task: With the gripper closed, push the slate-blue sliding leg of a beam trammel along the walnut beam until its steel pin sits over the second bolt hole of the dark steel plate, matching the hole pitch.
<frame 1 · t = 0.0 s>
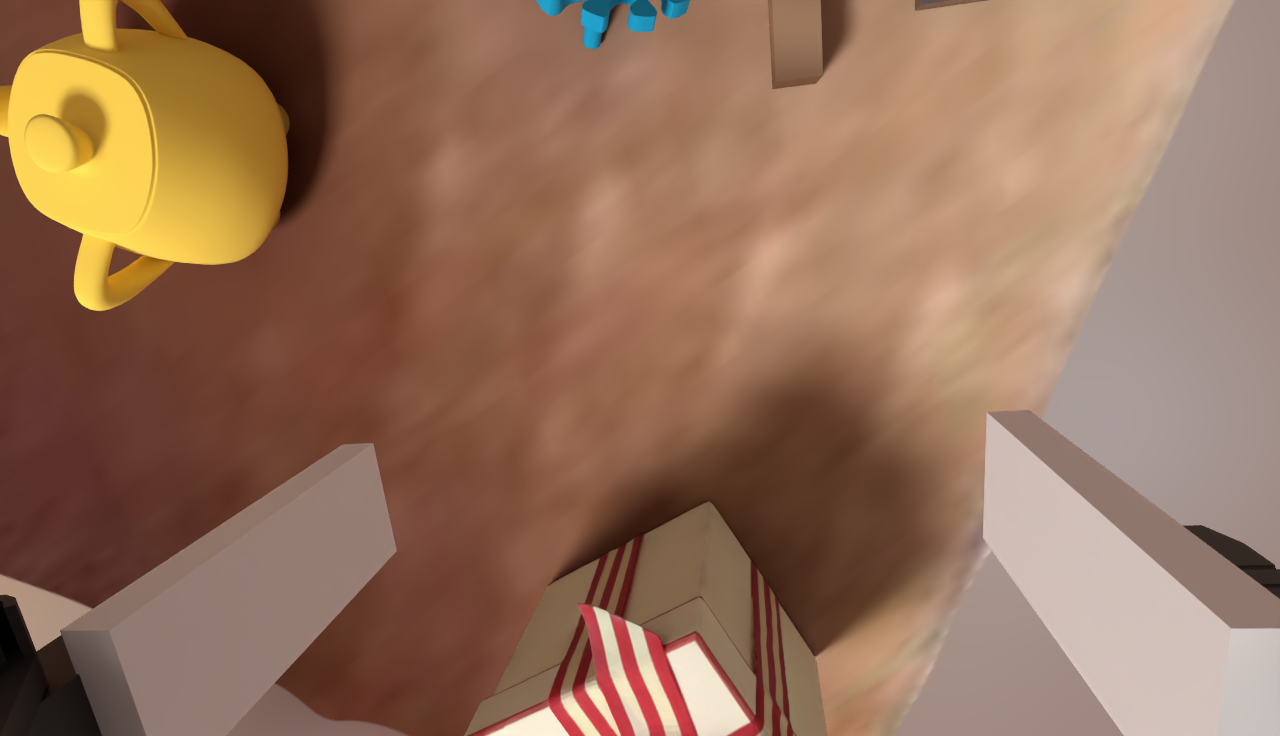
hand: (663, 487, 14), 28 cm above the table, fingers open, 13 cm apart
teapot: (201, 147, 43), on the table
gift box: (659, 608, 48), on the table
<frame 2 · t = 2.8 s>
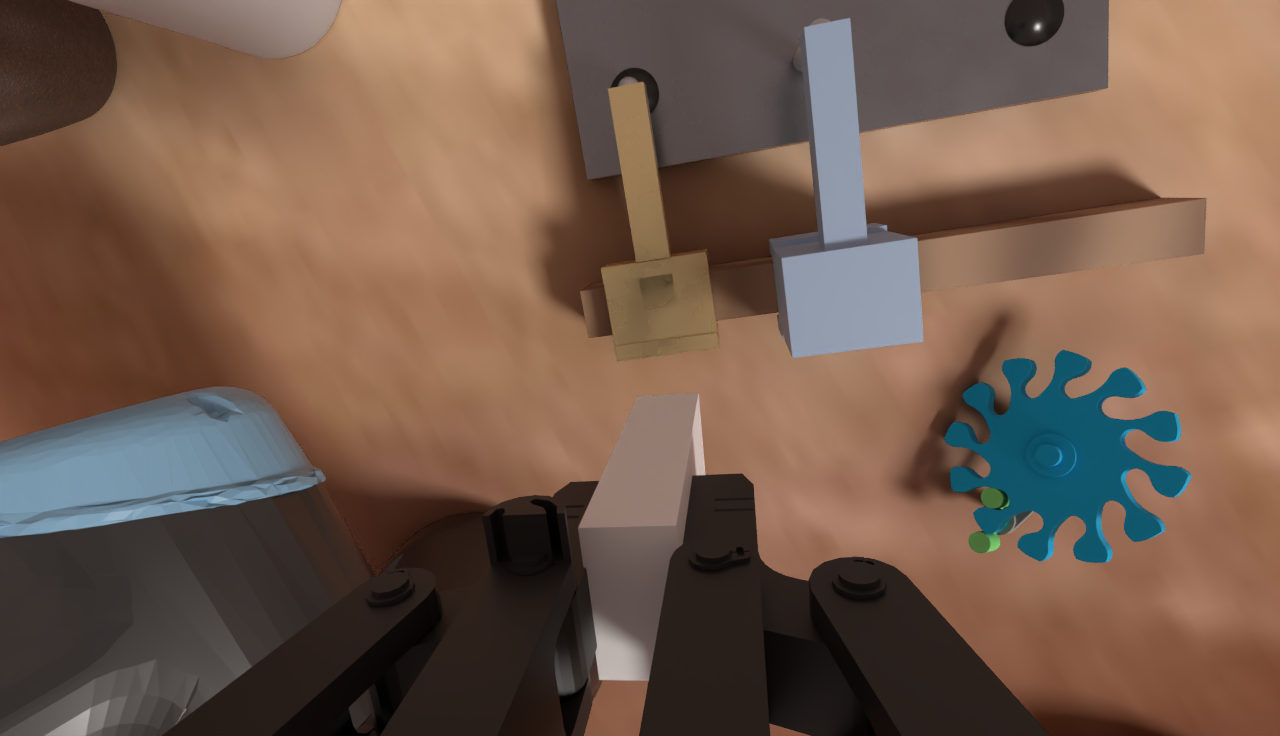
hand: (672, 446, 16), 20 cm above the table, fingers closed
hole plate: (817, 17, 31), on the table
fixed leg: (667, 294, 35), resting on beam
sliding leg: (828, 191, 28), point 5 cm above the table, slide at 0.0 cm
beam: (859, 266, 34), on the table
plant pot: (62, 52, 36), on the table
gear: (1012, 435, 35), on the table
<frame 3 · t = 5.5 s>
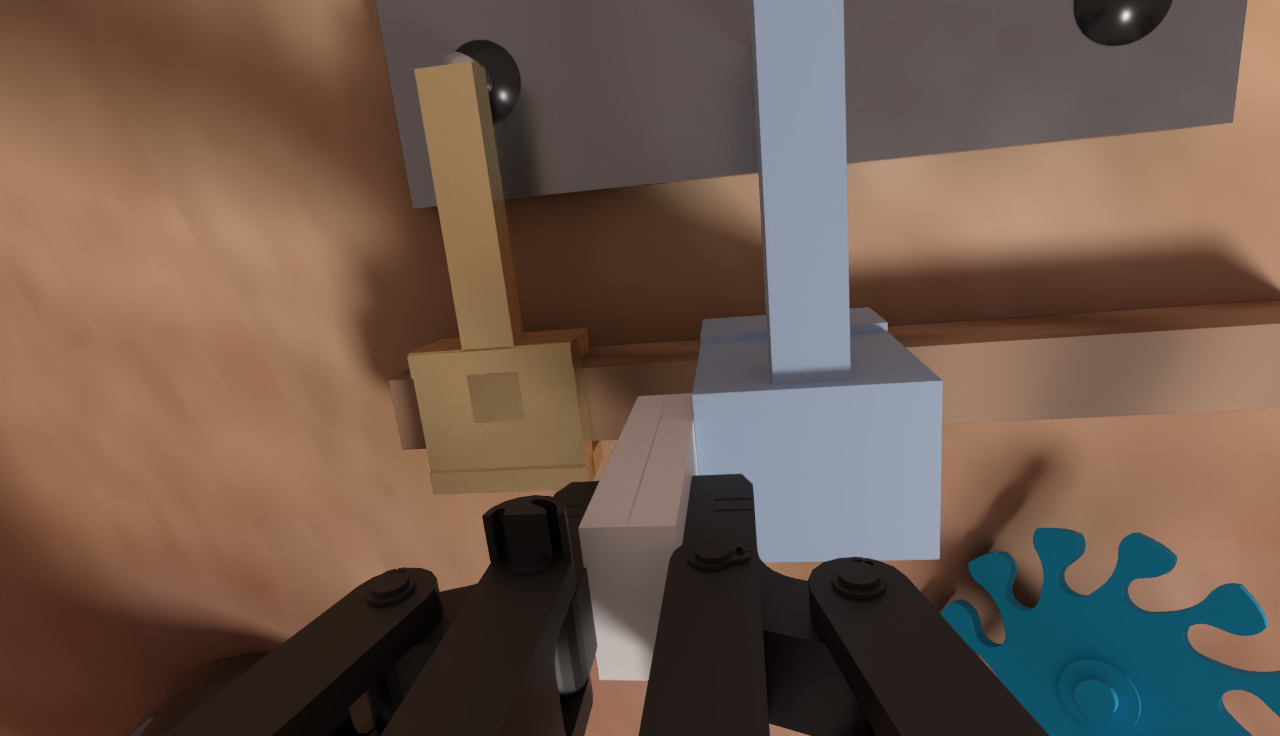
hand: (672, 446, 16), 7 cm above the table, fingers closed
fixed leg: (538, 382, 24), resting on beam
sliding leg: (792, 264, 16), point 5 cm above the table, slide at 0.7 cm, touching gripper
beam: (820, 365, 22), on the table
gear: (1033, 622, 24), on the table
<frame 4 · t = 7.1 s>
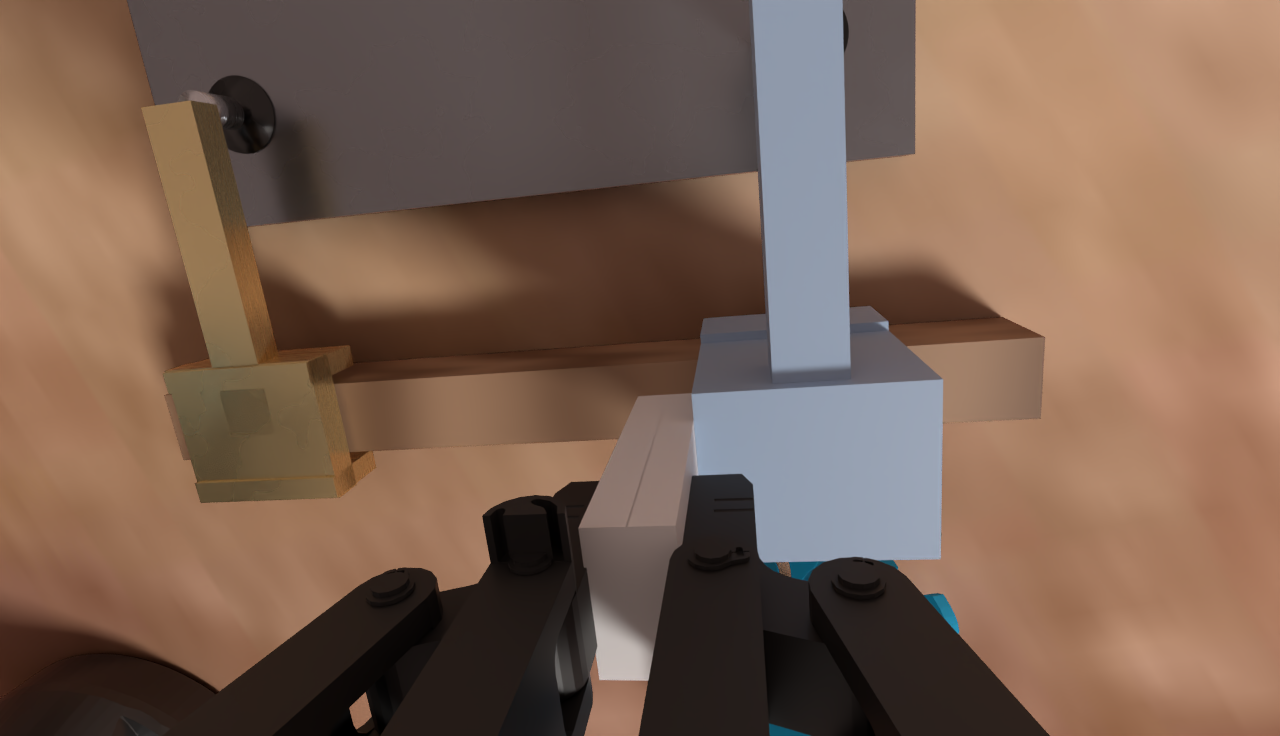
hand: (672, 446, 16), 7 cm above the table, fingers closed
hole plate: (506, 17, 21), on the table
fixed leg: (329, 395, 25), resting on beam
sliding leg: (792, 263, 16), point 5 cm above the table, slide at 9.1 cm, touching gripper
beam: (583, 379, 24), on the table
gear: (807, 626, 25), on the table
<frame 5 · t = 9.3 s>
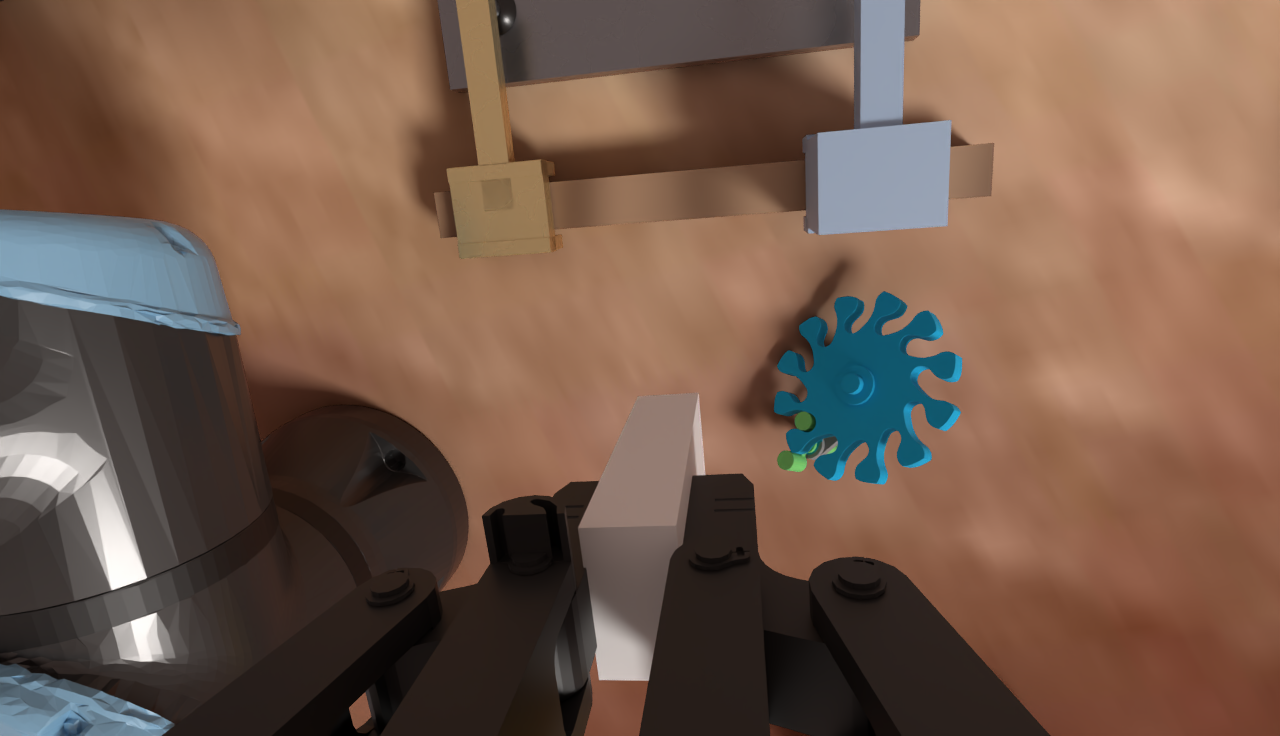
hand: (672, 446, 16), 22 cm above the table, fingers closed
fixed leg: (525, 207, 38), resting on beam
sliding leg: (867, 82, 29), point 5 cm above the table, slide at 9.9 cm
beam: (699, 193, 36), on the table
gear: (842, 374, 38), on the table
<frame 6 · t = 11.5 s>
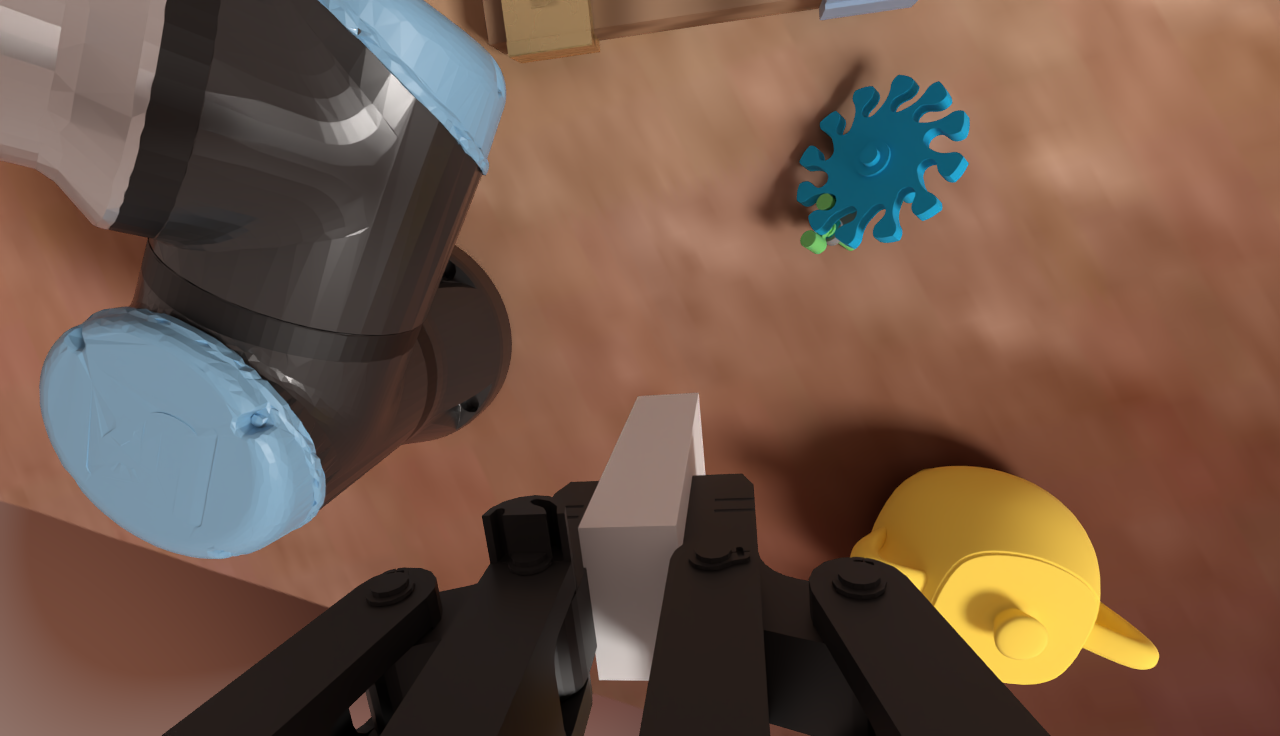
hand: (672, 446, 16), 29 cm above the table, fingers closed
teapot: (940, 553, 47), on the table
fixed leg: (563, 24, 41), resting on beam
beam: (722, 0, 40), on the table
gear: (858, 172, 42), on the table
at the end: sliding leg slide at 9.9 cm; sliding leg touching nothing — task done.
